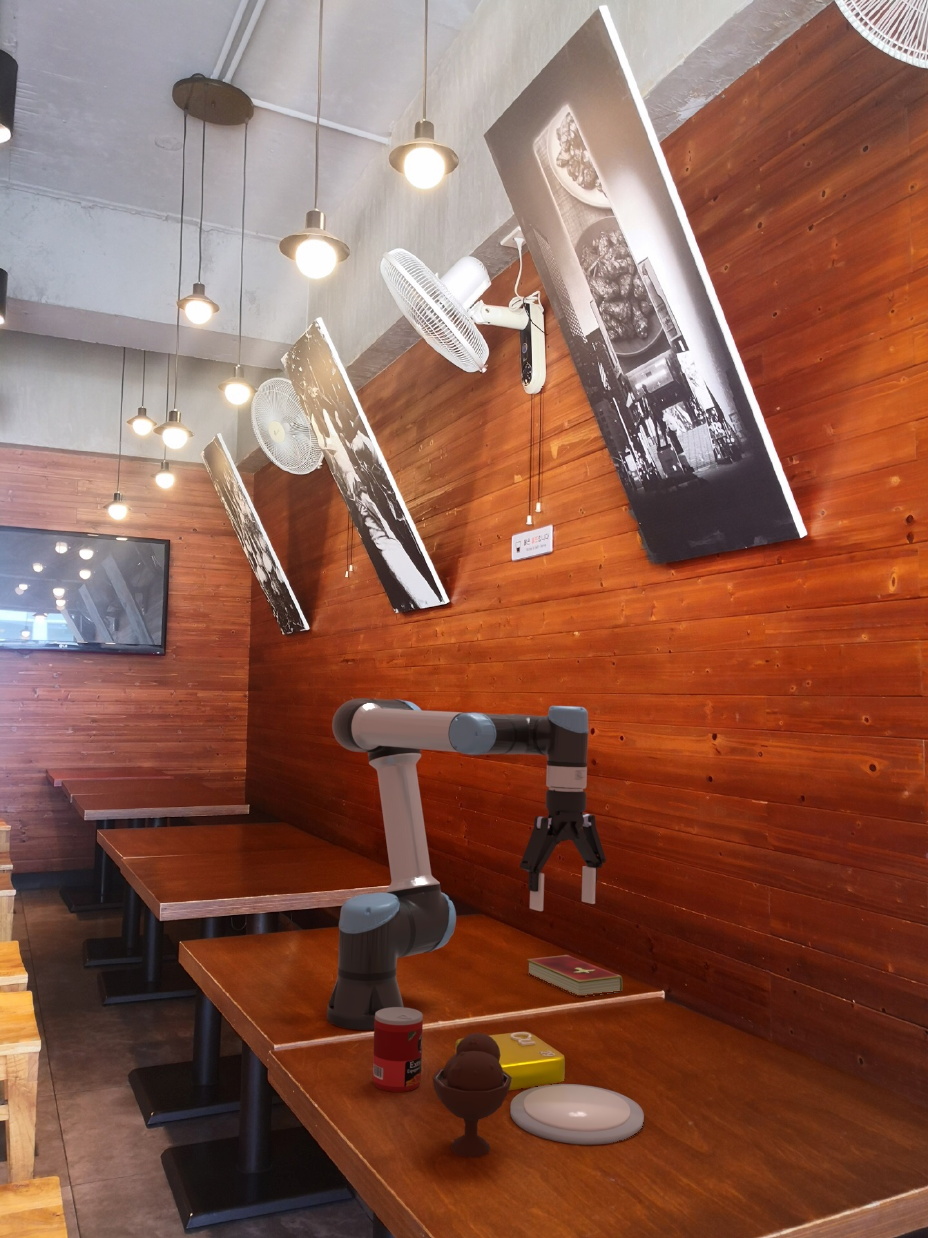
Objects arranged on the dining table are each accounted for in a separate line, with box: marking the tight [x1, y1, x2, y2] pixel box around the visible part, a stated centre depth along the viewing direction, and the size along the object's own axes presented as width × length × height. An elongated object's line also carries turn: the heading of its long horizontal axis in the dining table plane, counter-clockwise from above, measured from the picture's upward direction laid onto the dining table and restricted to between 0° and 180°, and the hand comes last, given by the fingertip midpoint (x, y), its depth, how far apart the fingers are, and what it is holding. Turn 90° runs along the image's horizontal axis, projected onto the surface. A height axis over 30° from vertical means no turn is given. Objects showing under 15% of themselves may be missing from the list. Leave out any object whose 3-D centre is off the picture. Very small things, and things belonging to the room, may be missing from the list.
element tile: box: [455, 1031, 566, 1091], centre depth 163 cm, size 15×15×5 cm
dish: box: [510, 1083, 645, 1146], centre depth 145 cm, size 20×20×2 cm
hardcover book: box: [526, 954, 624, 995], centre depth 220 cm, size 12×21×4 cm, turn 29°
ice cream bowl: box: [432, 1032, 512, 1158], centre depth 134 cm, size 11×11×15 cm
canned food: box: [372, 1006, 424, 1093], centre depth 156 cm, size 8×8×11 cm
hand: (562, 906), depth 176 cm, fingers open, 13 cm apart
